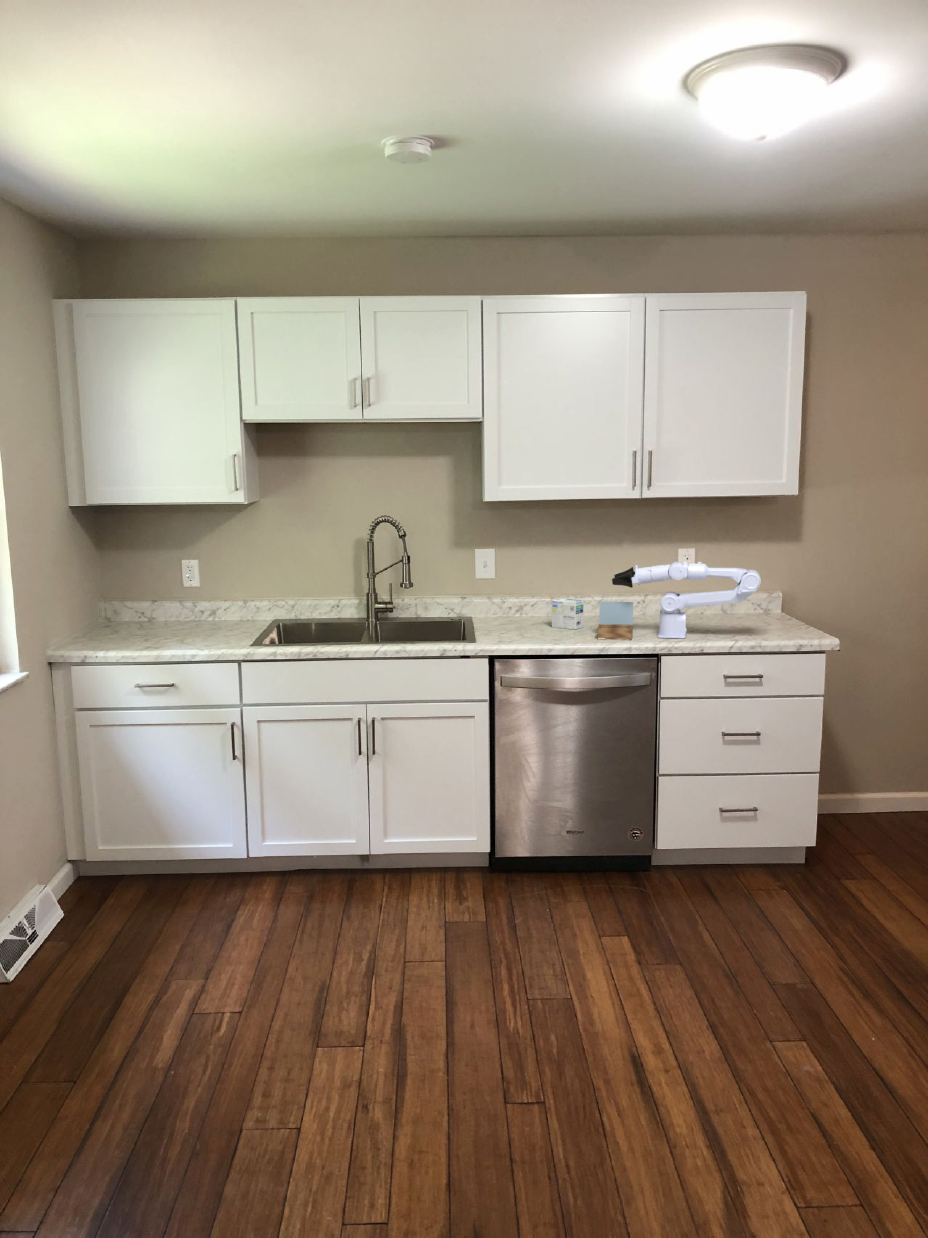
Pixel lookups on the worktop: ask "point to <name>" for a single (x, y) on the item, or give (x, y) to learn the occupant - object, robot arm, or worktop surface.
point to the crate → (615, 631)
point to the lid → (616, 613)
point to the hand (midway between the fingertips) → (613, 579)
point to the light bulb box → (567, 613)
